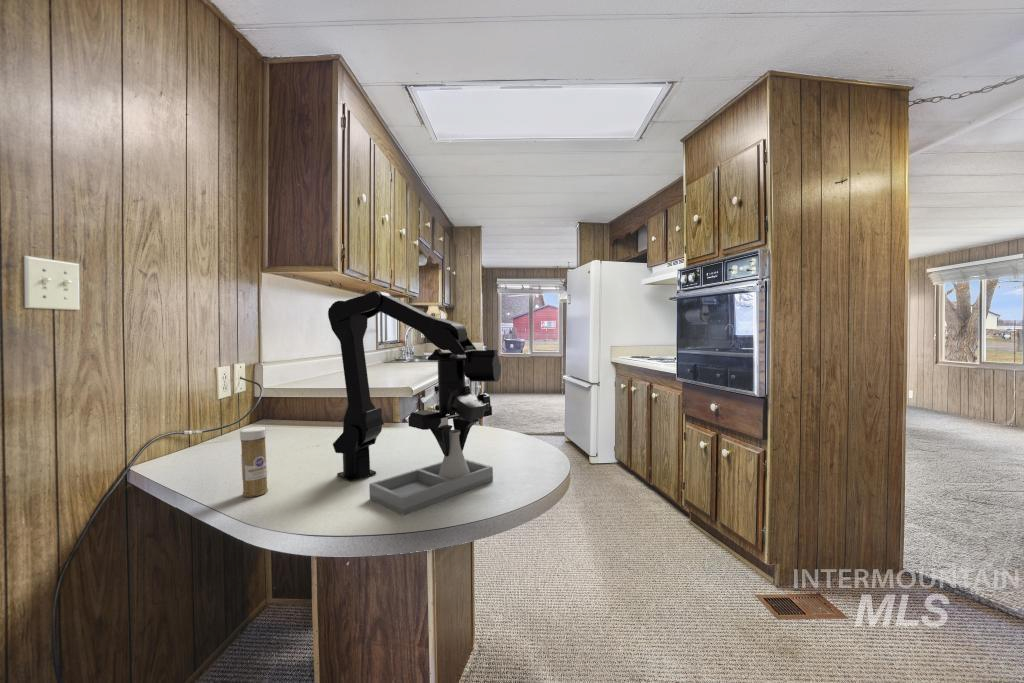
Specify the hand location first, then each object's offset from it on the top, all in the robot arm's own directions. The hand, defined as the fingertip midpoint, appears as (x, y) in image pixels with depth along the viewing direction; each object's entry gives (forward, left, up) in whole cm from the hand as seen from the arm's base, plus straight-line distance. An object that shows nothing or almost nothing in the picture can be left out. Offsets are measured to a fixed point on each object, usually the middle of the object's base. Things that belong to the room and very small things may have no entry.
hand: (453, 454), depth 93 cm
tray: (0, -5, -6) cm, 8 cm away
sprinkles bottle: (-27, -30, -6) cm, 41 cm away
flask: (0, 0, -5) cm, 5 cm away
